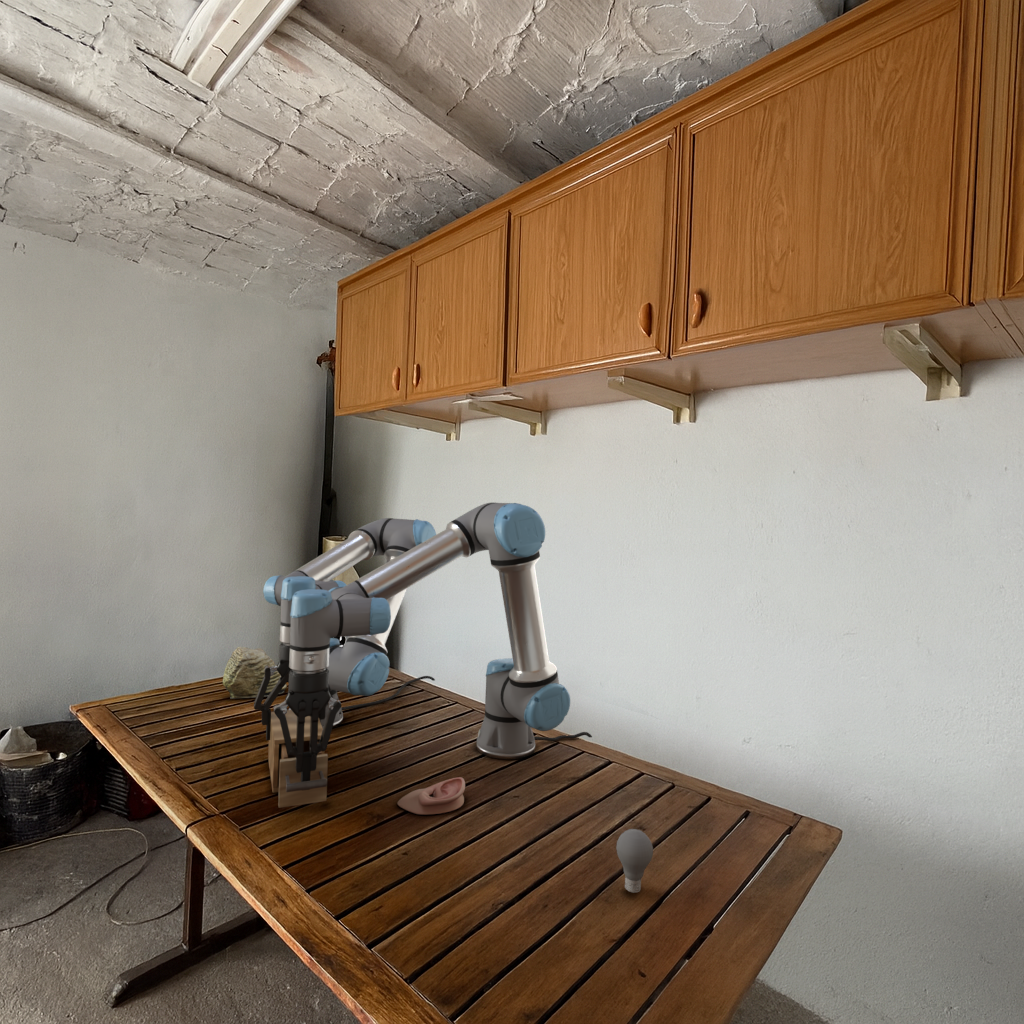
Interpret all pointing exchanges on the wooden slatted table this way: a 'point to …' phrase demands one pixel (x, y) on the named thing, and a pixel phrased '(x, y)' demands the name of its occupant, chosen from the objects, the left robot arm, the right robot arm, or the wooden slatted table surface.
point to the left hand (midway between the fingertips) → (293, 735)
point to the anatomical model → (435, 798)
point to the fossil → (248, 673)
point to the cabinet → (278, 738)
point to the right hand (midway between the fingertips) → (305, 786)
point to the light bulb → (634, 857)
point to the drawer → (292, 780)
